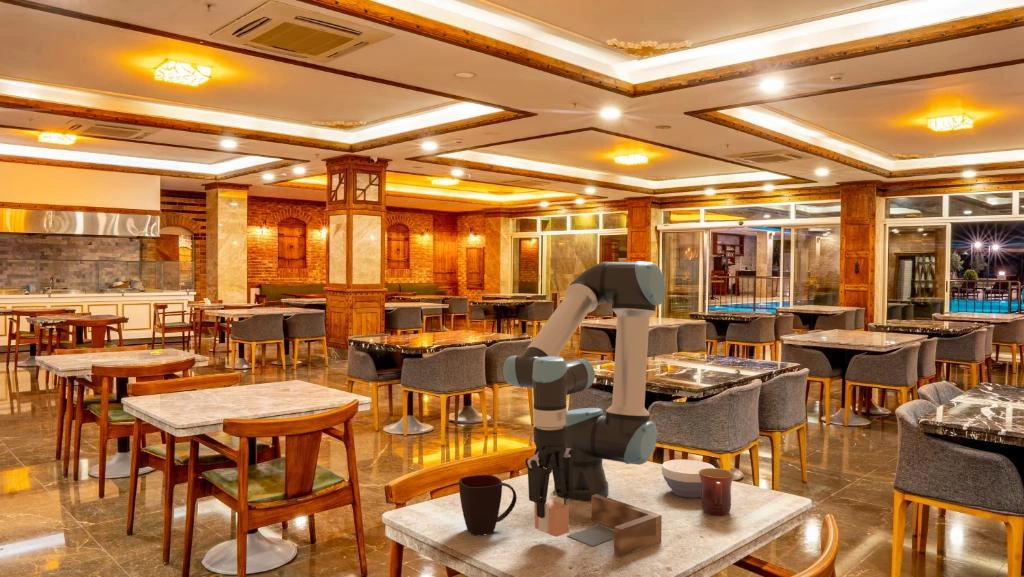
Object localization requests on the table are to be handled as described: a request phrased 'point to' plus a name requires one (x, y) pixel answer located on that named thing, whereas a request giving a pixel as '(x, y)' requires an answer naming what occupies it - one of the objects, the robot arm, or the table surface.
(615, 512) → the corner walls
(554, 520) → the block
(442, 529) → the table surface
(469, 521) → the mug
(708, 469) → the mug
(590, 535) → the pad
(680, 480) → the bowl
